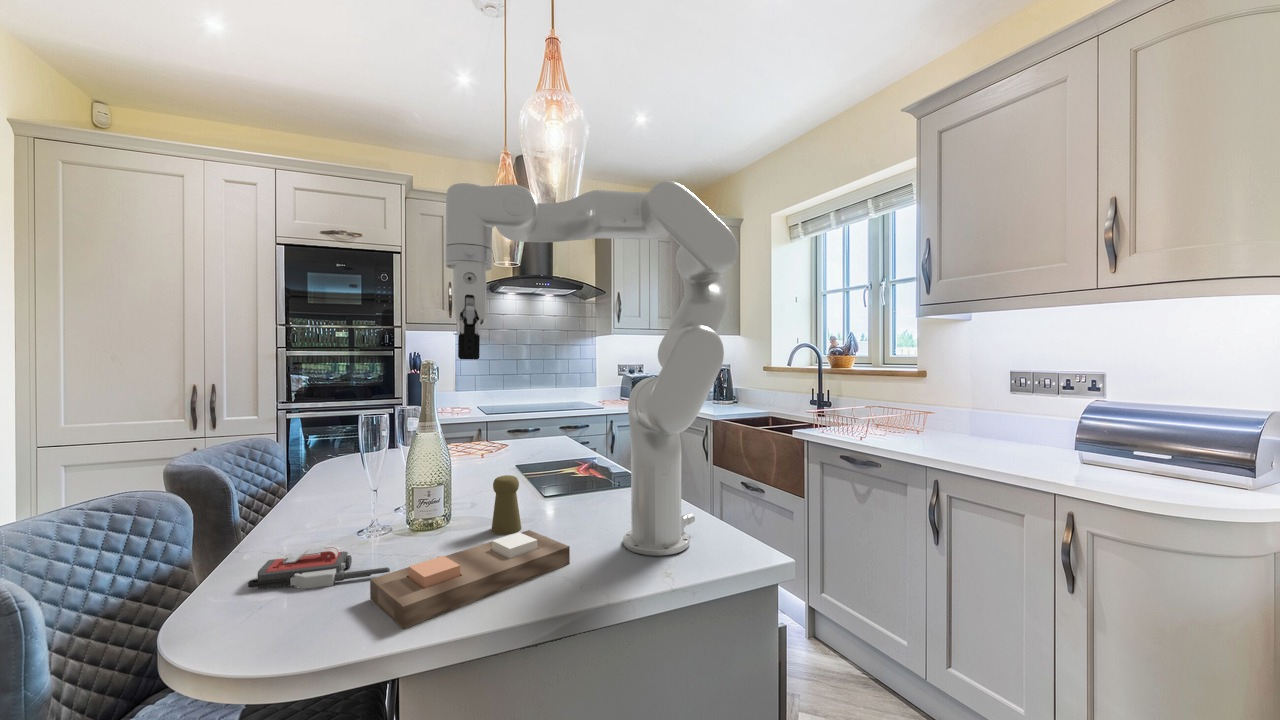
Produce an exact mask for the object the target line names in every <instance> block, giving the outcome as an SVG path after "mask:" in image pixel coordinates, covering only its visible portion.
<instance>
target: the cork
mask: <svg viewBox="0 0 1280 720" xmlns="http://www.w3.org/2000/svg"><path fill="white" fill-rule="evenodd" d="M519 487H520V482H519V479H518V477H517V476H515V475H509V474H507V475H506V474H505V475H501V476H497V477H496V478H495V479H494V480H493V483H492V488H493V492H494V493H495V498H494V499H495V500H494V506H493V507H494V508H493V513H492V514H493V515H492V523H491V533H492V534H494V535H501V536H502V535H506V536H507V535H512V534H516V533H519V532H520V531H521V530H522V523H521V515H520V509H519V502H518V501H519V500H518V495H517V491H518V490H519Z"/></svg>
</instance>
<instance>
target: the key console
mask: <svg viewBox="0 0 1280 720" xmlns="http://www.w3.org/2000/svg"><path fill="white" fill-rule="evenodd" d="M520 533H522V534H525V535H527V536H529V537H532V538H534V539H537V550H534V551H532V552H529V553H526V554H523V555H520V556H517V557H514V558H511V559H508V558H506V557H504V556H502V555H500V554H498V553H496V552H494V551H492V541H489V542H486V543H483V544H480V545H476V546H473V547H470V548H466V549H463V550H461V551H457V552H454V553H451V554H446V555H444V556H445V557H447V558H448V559H450V560H452V561H453V562H455V563H457V564H459V565H460V576H459V577H457V578H454V579H451V580H448V581H445V582H442V583H439V584H436V585H433V586H431V587H428V588H425V589H423V588H421V587H420V586H419V585H417V584H416V583H414V582H413V581H412V580H410V579H409V566H408V567H406V568H405V567H404V568H402V569H399V570H395V571H392V572H387V573H385V574H382V575H379V576H375V577H373V578H370V579H369V589H370V590H369V591H370V592H369V595H370V597H369V598H370V600H371V602H372V603H374V604H376V606H377V607H379V608H380V610H382V611H383V612H384V613H385V614H386V615H387V616H388V617H390V618H391V619H392V620H393V621H394V622H395V623H396V624H398V625H399V627H401V628H402V629H403V630H405V629H407V628H410V627H412V626H415V625H417V624H420V623H422V622H425V621H427V620H430V619H432V618H435V617H438V616H440V615H444V614H446V613H449V612H451V611H454V610H456V609H459V608H460V607H463V606H466V605H468V604H470V603H473V602H476V601H478V600H481V599H483V598H485V597H489V596H492V595H494V594H496V593H499V592H501V591H503V590H506V589H509V588H512V587H515V586H517V585H519V584H522V583H524V582H525V583H526V581H530V580H532V579H534V578H537V577H540V576H542V575H544V574H547V573H550V572H552V571H554V570H555V571H556V570H557V569H560V568H563V567H565V566H567V565H570V560H571V557H570V556H571V555H570V554H571V553H570V550H571V549H570V545H567V544H565V543H562V542H559V541H557V540H554V539H552V538H550V537H547V536H544V535H543V534H540V533H538V532H535V531H532V530H530V529H528V530H525V531H522V532H520Z"/></svg>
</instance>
